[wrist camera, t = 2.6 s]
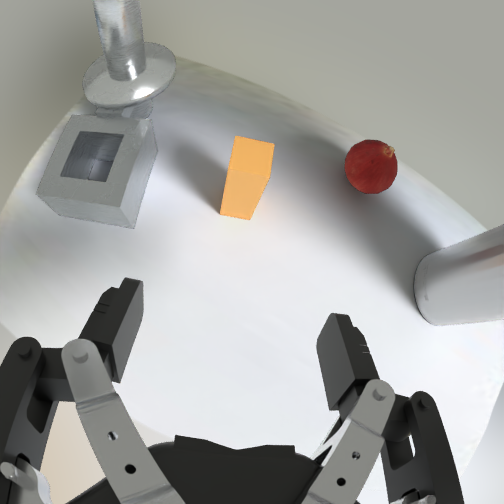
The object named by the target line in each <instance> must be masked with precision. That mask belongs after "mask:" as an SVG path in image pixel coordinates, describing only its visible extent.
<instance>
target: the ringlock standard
mask: <svg viewBox="0 0 504 504" xmlns="http://www.w3.org/2000/svg"><path fill="white" fill-rule="evenodd" d="M92 3H93V8H94V13H95V18H96V23H97V27H98V32H99V36H100V40H101V44H102V49H103V52H104V54H103V55H102V56H100V57H99V58H98V59H97V60H96V61H94V62H93V63H92V64H91V65H90V67H89V68H88V69H87V71H86V73H85V75H84V77H83V82H82V86H83V90H84V93H85V95H86V98H87V99H88V101H89V102H91V103H92V104H93V105H95V106H97V107H98V108H97V110H96V112H95V114H96V115H72V116H71V118H70V120H69V122H68V124H67V126H66V127H65V129H64V131H63V133H62V135H61V137H60V139H59V141H58V143H57V146H56V148H55V150H54V152H53V154H52V156H51V159H50V161H49V163H48V165H47V168H46V170H45V172H44V175H43V177H42V180H41V182H40V185H39V187H38V190H37V193H36V195H37V196H38V197H39V198H40V199H42V200H43V201H44V202H45V203H46V204H47V205H48V206H49V207H50V208H52V209H53V210H54V211H55V212H56V213H57V214H58V215H60V216H66V217H71V218H77V219H82V220H88V221H93V222H99V223H104V224H110V225H115V226H121V227H126V228H132V229H134V227H135V223H136V220H137V216H138V212H139V209H140V205H141V202H142V199H143V195H144V192H145V189H146V185H147V182H148V179H149V176H150V173H151V170H152V167H153V164H154V161H155V158H156V155H157V152H158V149H157V144H156V139H155V134H154V129H153V124H152V120H149V119H146V118H147V117H148V116H149V115H150V114H151V113H152V110H153V104H152V98H154V97H156V96H157V95H159V94H160V93H161V92H163V91H164V90H165V89H166V88H167V87H168V86H169V85H170V83H171V82H172V80H173V79H174V76H175V73H176V60H175V56H174V54H173V53H172V52H171V51H170V50H169V49H168V48H166V47H165V46H162V45H160V44H156V43H149V42H144V39H143V30H142V19H141V8H140V0H92ZM95 159H96V160H105V161H114V162H113V164H112V167H111V170H110V172H109V175H108V178H107V181H106V182H100V181H93V180H87V179H88V176H89V174H90V171H91V169H92V166H93V164H94V161H95Z"/></svg>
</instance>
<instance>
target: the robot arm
mask: <svg viewBox="0 0 504 504" xmlns="http://www.w3.org/2000/svg"><path fill="white" fill-rule="evenodd" d="M414 292H415V298H416V302H417V305H418V308H419V310H420V312H421V314H422V315H423V317H424V318H425V319H426V320H427V321H428V322H429V323H431V324H433V325H436V326H445V325H457V324H470V323H479V322H488V321H496V320H504V224H503V225H500V226H498V227H496V228H493V229H491V230H489V231H486V232H484V233H481V234H479V235H477V236H474V237H472V238H469V239H467V240H464V241H462V242H459V243H457V244H454V245H452V246H449V247H446V248H444V249H441V250H439V251H436V252H434V253H431V254H429V255H427V256H426V257H424V258H423V259H422V261H421V262H420V263H419V266H418V268H417V271H416V274H415V281H414ZM142 317H143V281H140V280H135V279H131V278H124V280H123V282H122V283H121V285H120V287H119V288H114V287H111V288H109V289H108V290H107V291H105V292H104V293H103V294H102V296H101V297H100V299H99V301H98V304H96V306H95V308H94V311H92V313H91V315H90V317H89V319H88V321H87V322H86V324H85V326H84V328H83V330H82V332H81V334H80V336H79V337H78V339H75V340H72V341H70V342H68V343H67V344H66V345H65V346H64V348H41V345H40V343H39V342H38V341H37V340H36V339H34V338H32V337H22V338H19V339H17V340H16V341H15V342H14V343H13V344H12V345H11V347H10V349H9V350H8V352H7V354H6V356H5V358H4V360H3V362H2V364H1V366H0V504H53V503H52V502H51V498H50V486H49V483H48V481H47V479H46V478H45V476H44V475H43V474H42V473H40V467H41V463H42V459H43V455H44V451H45V447H46V443H47V440H48V436H49V432H50V429H51V425H52V422H53V419H54V416H55V412H56V409H57V406H58V403H59V401H68V402H75V403H76V409H77V412H78V415H79V418H80V420H81V423H82V425H83V428H84V430H85V433H86V435H87V437H88V440H89V442H90V444H91V447H92V449H93V451H94V453H95V455H96V457H97V460H98V461H99V464H100V465H101V468H102V469H103V472H104V473H105V476H106V477H105V478H104V479H102V480H101V481H99V482H98V483H96V484H95V485H93V486H92V487H91V488H89V489H88V490H86V491H85V492H83V493H81V494H80V495H78V496H77V497H75V498H74V499H72V500H71V501H69V502H67V503H66V504H360V503H359V502H358V501H357V500H356V499H357V497H358V495H359V494H360V492H361V490H362V488H363V486H364V484H365V482H366V480H367V478H368V476H369V474H370V472H371V470H372V468H373V466H374V464H375V462H376V459H377V457H378V455H379V453H380V452H381V458H382V463H383V469H384V475H385V481H386V487H387V494H388V501H389V504H464V500H463V495H462V491H461V486H460V482H459V478H458V474H457V470H456V466H455V463H454V459H453V455H452V452H451V449H450V445H449V442H448V439H447V435H446V432H445V429H444V426H443V423H442V420H441V417H440V414H439V411H438V409H437V406H436V403H435V401H434V399H433V398H432V397H431V396H430V395H429V394H428V393H426V392H423V391H418V392H415V393H414V394H413V395H412V396H411V397H410V398H409V397H405V396H401V395H397V394H395V393H394V390H393V389H392V387H391V386H390V385H389V384H388V383H386V382H385V381H383V380H380V378H379V375H378V373H377V370H376V367H375V364H374V362H373V359H372V356H371V354H370V351H369V348H368V347H367V343H366V340H365V338H364V335H363V334H362V333H361V332H360V331H359V329H358V328H357V327H353V325H352V322H351V320H350V317H349V316H348V315H345V314H337V313H331V314H330V315H329V317H328V319H327V321H326V323H325V325H324V327H323V329H322V331H321V333H320V335H319V337H318V339H317V345H316V348H317V354H318V358H319V363H320V368H321V372H322V377H323V382H324V386H325V391H326V396H327V401H328V406H329V410H339V413H340V415H339V416H338V417H337V419H336V421H335V422H334V424H333V425H332V427H331V429H330V430H329V432H328V433H327V435H326V437H325V438H324V440H323V441H322V443H321V444H320V446H319V447H318V449H317V450H316V451H315V452H314V453H313V455H312V456H311V457H310V458H308V457H306V456H304V455H301V454H299V453H295V446H294V445H263V446H258V447H252V448H246V449H240V450H235V449H231V448H228V447H225V446H222V445H219V444H216V443H213V442H211V441H208V440H205V439H197V438H191V437H185V436H179V435H175V440H174V442H165V443H159V444H155V445H152V446H150V447H146V445H145V444H144V442H143V440H142V439H141V437H140V435H139V433H138V432H137V429H136V428H135V426H134V424H133V422H132V420H131V418H130V416H129V414H128V412H127V410H126V408H125V406H124V404H123V402H122V400H121V398H120V397H119V395H118V394H117V393H116V391H115V389H114V387H113V385H112V381H113V382H117V383H120V382H121V379H122V376H123V373H124V370H125V367H126V364H127V361H128V358H129V355H130V352H131V349H132V346H133V343H134V341H135V338H136V335H137V332H138V330H139V327H140V324H141V321H142ZM410 435H412V439H413V443H414V447H415V456H414V457H413V453H412V449H411V445H410V441H409V437H408V436H410Z"/></svg>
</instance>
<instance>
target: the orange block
mask: <svg viewBox="0 0 504 504" xmlns="http://www.w3.org/2000/svg"><path fill="white" fill-rule="evenodd" d="M273 152H274V144H272V143H268V142H263V141H259V140H254V139H249V138H245V137H240V136H235V140H234V144H233V149H232V153H231V158H230V162H229V167H228V172H227V177H226V183H225V188H224V194H223V199H222V205H221V210H220V215H225V216H230V217H236V218H241V219H246V220H250V219H251V217H252V215H253V213H254V210H255V208H256V206H257V204H258V202H259V200H260V198H261V195H262V193H263V191H264V189H265V187H266V185H267V183H268V181H269V178H270V174H271V166H272V159H273Z"/></svg>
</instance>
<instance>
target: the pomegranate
mask: <svg viewBox="0 0 504 504" xmlns="http://www.w3.org/2000/svg"><path fill="white" fill-rule="evenodd" d="M394 151H395V150H394V149H393V147H391V146H388V145H387V144H385V143H383V142H381V141H378V140H364V141H361V142H359V143H357V144H355V145H354V146H353V147H351V149H350V150H349V152H348V154H347V156H346V159H345V173H346V176H347V179H348V180H349V182H350V183H351V185H352V186H354V187H355V188H356V189H357V190H358V191H361V192H363V193H366V194H378V193H380V192H382V191H384V190H386V189H388V188H389V187H390V186H391V185H392V183H393V181H394V179H395V177H396V175H397V159H396V156H395V154H394Z"/></svg>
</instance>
